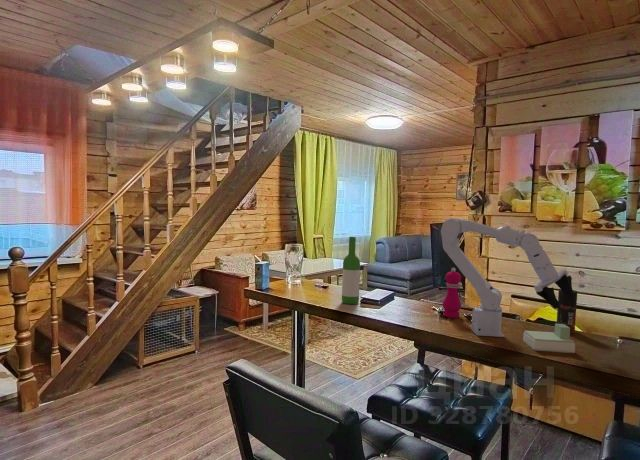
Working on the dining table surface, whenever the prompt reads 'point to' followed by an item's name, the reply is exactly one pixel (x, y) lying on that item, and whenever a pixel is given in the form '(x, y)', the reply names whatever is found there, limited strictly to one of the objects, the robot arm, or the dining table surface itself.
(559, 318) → the deodorant
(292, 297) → the dining table surface
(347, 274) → the wine bottle
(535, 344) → the tub
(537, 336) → the lid
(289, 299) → the dining table surface
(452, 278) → the pepper mill
